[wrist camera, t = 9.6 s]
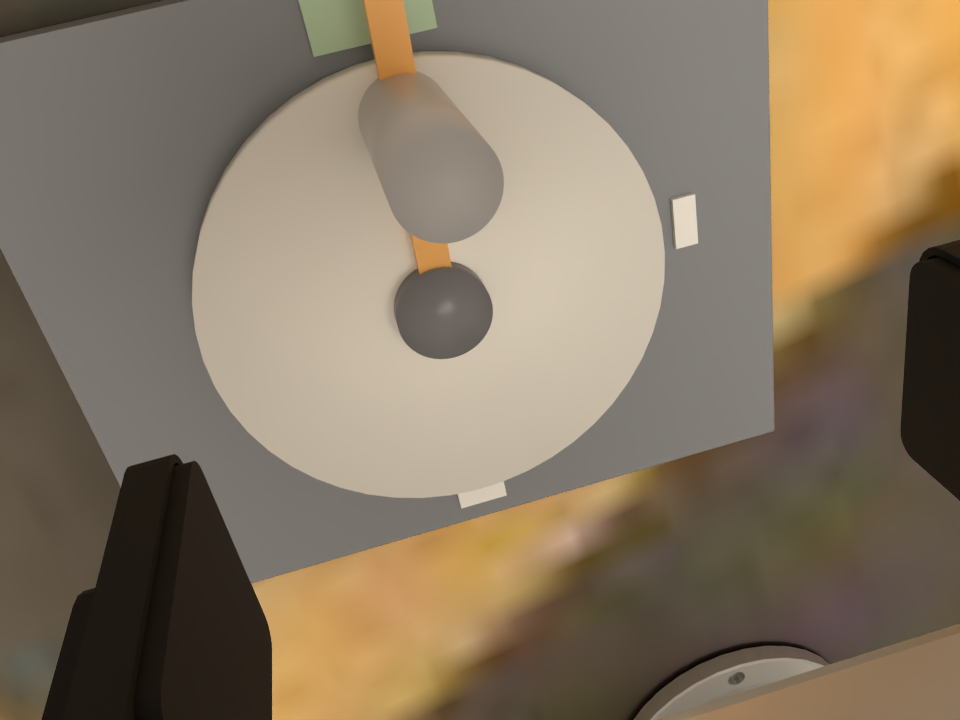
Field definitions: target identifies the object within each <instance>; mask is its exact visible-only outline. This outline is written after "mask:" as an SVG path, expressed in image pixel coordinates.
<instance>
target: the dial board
mask: <svg viewBox="0 0 960 720" xmlns="http://www.w3.org/2000/svg"><path fill="white" fill-rule="evenodd" d="M403 2H404V7H405V13H406V18H407V24H408V29H409V35H410V40H411V46H412V51H413V52H418V51H458V52H465V53H472V54H478V55H485V56H490V57H494V58H497V59H500V60H504V61H507V62H510V63H514V64H517V65H520V66H522V67H524V68H527V69H529V70H531V71H533V72H535V73H537V74H540V75H542V76H544V77H546V78H548V79H550V80H551V81H553V82H554V83H556V84H557V85H559V86H561V87H562V88H564V89H565V90H567V91H568V92H570V93H571V94H573V95H574V96H576V97H577V98H579V99H580V100H581V101H583V102H584V103H586V104H587V105H588V106H589V107H590V108H591V109H592V110H594V111H595V112H596V113H597V114H598V115H599V116H600V117H602V118H603V119H604V120H605V121H606V122H607V123H608V124H609V125H610V126H611V127H612V128H613V129H614V131H615V132H616V133H617V134H618V135H619V137H620V138H621V139H622V140H623V141H624V143H625V144H626V145H627V146H628V148H629V149H630V151H631V152H632V154H633V156H634V157H635V159H636V161H637V162H638V164H639V166H640V167H641V169H642V170H643V172H644V174H645V177H646V179H647V182H648V184H649V186H650V189H651V191H652V193H653V196H654V198H655V202H656V206H657V209H658V213H659V217H660V221H661V224H662V232H663V241H664V249H665V274H664V286H663V293H662V299H661V306H660V310H659V313H658V317H657V320H656V324H655V327H654V331H653V334H652V336H651V339H650V341H649V343H648V346H647V348H646V350H645V353H644V355H643V358H642V360H641V361H640V363H639V365H638V367H637V368H636V370H635V372H634V374H633V375H632V377H631V379H630V381H629V382H628V384H627V385H626V386H625V388H624V389H623V390H622V392H621V393H620V394H619V396H618V397H617V399H616V400H615V401H614V403H613V404H612V405H611V406H610V407H609V408H608V409H607V411H606V412H605V413H604V414H603V415H602V416H601V417H600V418H599V419H598V420H597V421H596V422H595V424H593V425H592V426H591V427H590V428H589V429H588V430H587V431H586V432H584V433H583V434H582V435H581V436H580V437H579V438H578V439H576V440H575V441H574V442H573V443H571V444H570V445H569V446H567V447H566V448H564V449H563V450H561V451H560V452H559V453H557V454H556V455H554V456H553V457H552V458H550V459H548V460H546V461H544V462H543V463H541V464H539V465H537V466H536V467H534V468H532V469H530V470H528V471H526V472H524V473H522V474H519V475H517V476H515V477H512V478H510V479H508V480H505V481H503V482H500V483H497V484H494V485H491V486H487V487H484V488H481V489H478V490H474V491H469V492H464V493H459V494H454V495H449V496H438V497H428V498H393V497H385V496H377V495H368V494H364V493H360V492H356V491H351V490H347V489H343V488H340V487H337V486H334V485H332V484H329V483H326V482H323V481H321V480H318V479H315V478H313V477H311V476H309V475H307V474H306V473H304V472H302V471H300V470H298V469H296V468H294V467H292V466H290V465H289V464H287V463H286V462H284V461H283V460H281V459H280V458H279V457H277V456H276V455H274V454H273V453H271V452H270V451H268V450H267V449H266V448H265V447H264V446H263V445H262V444H261V443H259V442H258V441H257V440H256V439H255V438H254V437H253V436H252V435H250V434H249V433H248V432H247V431H246V429H245V428H244V427H243V426H242V425H241V423H240V422H239V421H238V420H237V419H236V418H235V416H234V415H233V414H232V413H231V412H230V410H229V409H228V407H227V406H226V404H225V402H224V401H223V399H222V398H221V396H220V394H219V393H218V391H217V390H216V388H215V386H214V384H213V382H212V380H211V377H210V375H209V373H208V371H207V368H206V366H205V364H204V362H203V358H202V355H201V351H200V347H199V344H198V340H197V337H196V333H195V325H194V317H193V309H192V280H193V268H194V262H195V256H196V251H197V245H198V239H199V234H200V228H201V225H202V222H203V219H204V216H205V213H206V210H207V207H208V204H209V201H210V198H211V196H212V194H213V192H214V190H215V188H216V186H217V184H218V182H219V180H220V178H221V176H222V174H223V172H224V170H225V168H226V167H227V166H228V164H229V163H230V161H231V160H232V158H233V157H234V156H235V154H236V153H237V151H238V150H239V149H240V147H241V146H242V144H243V143H244V141H245V140H246V139H247V138H248V137H249V136H250V135H251V134H252V133H253V132H254V131H255V130H256V129H257V128H258V127H259V125H260V124H261V123H262V122H263V121H264V120H265V119H266V118H267V117H268V116H269V115H271V114H272V113H273V112H274V111H276V110H277V109H278V108H279V107H281V106H282V105H283V104H284V103H286V102H287V101H288V100H289V99H291V98H292V97H293V96H294V95H296V94H298V93H299V92H301V91H303V90H304V89H306V88H308V87H309V86H311V85H313V84H314V83H316V82H318V81H319V80H321V79H323V78H325V77H327V76H329V75H332V74H334V73H336V72H339V71H341V70H343V69H346V68H348V67H350V66H353V65H355V64H359V63H362V62H366V61H370V60H373V59H374V54H373V49H372V44H371V39H370V34H369V29H368V25H367V20H366V15H365V10H364V5H363V0H163V1H159V2H154V3H150V4H145V5H141V6H137V7H132V8H128V9H123V10H119V11H115V12H110V13H106V14H101V15H97V16H92V17H88V18H84V19H79V20H75V21H70V22H66V23H62V24H57V25H53V26H48V27H44V28H39V29H35V30H31V31H26V32H22V33H17V34H13V35H9V36H4V37H0V249H1V251H2V253H3V255H4V257H5V259H6V261H7V263H8V264H9V266H10V268H11V270H12V272H13V274H14V276H15V278H16V280H17V282H18V284H19V286H20V288H21V290H22V292H23V294H24V296H25V298H26V300H27V302H28V304H29V306H30V308H31V310H32V312H33V314H34V316H35V318H36V320H37V322H38V324H39V326H40V328H41V330H42V332H43V334H44V336H45V338H46V340H47V342H48V344H49V346H50V348H51V350H52V352H53V354H54V356H55V358H56V360H57V362H58V364H59V366H60V368H61V370H62V372H63V374H64V376H65V378H66V380H67V382H68V384H69V386H70V388H71V390H72V392H73V393H74V395H75V397H76V399H77V401H78V403H79V405H80V407H81V409H82V411H83V413H84V415H85V417H86V419H87V421H88V423H89V425H90V427H91V429H92V431H93V433H94V435H95V437H96V439H97V441H98V443H99V445H100V447H101V449H102V451H103V453H104V455H105V457H106V459H107V461H108V463H109V465H110V467H111V469H112V471H113V473H114V475H115V477H116V479H117V481H118V483H119V485H120V487H121V485H122V481H123V477H124V473H125V471H126V469H127V467H129V466H132V465H135V464H139V463H143V462H146V461H150V460H154V459H157V458H161V457H165V456H168V455H172V454H176V455H177V456H178V457H179V458H180V459H181V460H182V462H183V464H184V463H188V462H192V461H196V462H197V463H198V464H199V465H200V467H201V469H202V471H203V473H204V476H205V478H206V480H207V483H208V485H209V487H210V490H211V492H212V494H213V496H214V499H215V501H216V503H217V506H218V508H219V510H220V513H221V515H222V517H223V520H224V522H225V524H226V527H227V529H228V531H229V534H230V536H231V538H232V541H233V543H234V545H235V548H236V550H237V552H238V555H239V557H240V559H241V562H242V564H243V566H244V569H245V571H246V573H247V576H248V578H249V580H250V582H251V583H254V582H257V581H261V580H264V579H268V578H271V577H274V576H278V575H281V574H285V573H288V572H292V571H295V570H298V569H302V568H305V567H309V566H312V565H316V564H319V563H322V562H326V561H329V560H333V559H336V558H340V557H343V556H346V555H350V554H353V553H357V552H360V551H364V550H367V549H370V548H374V547H377V546H381V545H384V544H388V543H391V542H394V541H398V540H401V539H405V538H408V537H412V536H415V535H418V534H422V533H425V532H429V531H432V530H436V529H439V528H442V527H446V526H449V525H453V524H456V523H460V522H463V521H466V520H470V519H473V518H477V517H480V516H484V515H487V514H490V513H494V512H497V511H501V510H504V509H508V508H511V507H514V506H518V505H521V504H525V503H528V502H532V501H535V500H538V499H542V498H545V497H549V496H552V495H556V494H559V493H562V492H566V491H569V490H573V489H576V488H580V487H583V486H586V485H590V484H593V483H597V482H600V481H604V480H607V479H610V478H614V477H617V476H621V475H624V474H628V473H631V472H634V471H638V470H641V469H645V468H648V467H652V466H655V465H658V464H662V463H665V462H669V461H672V460H676V459H679V458H682V457H686V456H689V455H693V454H696V453H700V452H703V451H706V450H710V449H713V448H717V447H720V446H724V445H727V444H730V443H734V442H737V441H741V440H744V439H748V438H751V437H754V436H758V435H761V434H765V433H768V432H772V431H774V375H773V310H772V245H771V180H770V115H769V50H768V0H403Z"/></svg>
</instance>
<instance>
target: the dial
mask: <svg viewBox="0 0 960 720" xmlns="http://www.w3.org/2000/svg"><path fill="white" fill-rule="evenodd" d="M363 5H364V10H365V15H366V20H367V25H368V29H369V34H370V39H371V44H372V49H373V54H374V59H373V60H370V61H366V62H362V63H359V64H355V65H353V66H350V67H348V68H346V69H343V70H341V71H339V72H336V73H334V74H332V75H329V76H327V77H325V78H323V79H321V80H319V81H318V82H316V83H314V84H313V85H311V86H309V87H308V88H306V89H304V90H303V91H301V92H299V93H298V94H296V95H294V96H293V97H292V98H291V99H289V100H288V101H287V102H286V103H284V104H283V105H282V106H281V107H279V108H278V109H277V110H276V111H274V112H273V113H272V114H271V115H269V116H268V117H267V118H266V119H265V120H264V121H263V122H262V123H261V124H260V125H259V127H258V128H257V129H256V130H255V131H254V132H253V133H252V134H251V135H250V136H249V137H248V138H247V139H246V140H245V141H244V143H243V144H242V146H241V147H240V149H239V150H238V151H237V153H236V154H235V156H234V157H233V158H232V160H231V161H230V163H229V164H228V166H227V167H226V168H225V170H224V172H223V174H222V176H221V178H220V180H219V182H218V184H217V186H216V188H215V190H214V192H213V194H212V196H211V198H210V201H209V204H208V207H207V210H206V213H205V216H204V219H203V222H202V225H201V228H200V234H199V239H198V245H197V251H196V256H195V262H194V268H193V280H192V309H193V317H194V325H195V333H196V337H197V340H198V344H199V347H200V351H201V355H202V358H203V362H204V364H205V366H206V368H207V371H208V373H209V375H210V377H211V380H212V382H213V384H214V386H215V388H216V390H217V391H218V393H219V394H220V396H221V398H222V399H223V401H224V402H225V404H226V406H227V407H228V409H229V410H230V412H231V413H232V414H233V415H234V416H235V418H236V419H237V420H238V421H239V422H240V423H241V425H242V426H243V427H244V428H245V429H246V431H247V432H248V433H249V434H250V435H252V436H253V437H254V438H255V439H256V440H257V441H258V442H259V443H261V444H262V445H263V446H264V447H265V448H266V449H267V450H268V451H270V452H271V453H273V454H274V455H276V456H277V457H279V458H280V459H281V460H283V461H284V462H286V463H287V464H289V465H290V466H292V467H294V468H296V469H298V470H300V471H302V472H304V473H306V474H307V475H309V476H311V477H313V478H315V479H318V480H321V481H323V482H326V483H329V484H332V485H334V486H337V487H340V488H343V489H347V490H351V491H356V492H360V493H364V494H368V495H377V496H385V497H393V498H428V497H438V496H449V495H454V494H459V493H464V492H469V491H474V490H478V489H481V488H484V487H487V486H491V485H494V484H497V483H500V482H503V481H505V480H508V479H510V478H512V477H515V476H517V475H519V474H522V473H524V472H526V471H528V470H530V469H532V468H534V467H536V466H537V465H539V464H541V463H543V462H544V461H546V460H548V459H550V458H552V457H553V456H554V455H556V454H557V453H559V452H560V451H561V450H563V449H564V448H566V447H567V446H569V445H570V444H571V443H573V442H574V441H575V440H576V439H578V438H579V437H580V436H581V435H582V434H583V433H584V432H586V431H587V430H588V429H589V428H590V427H591V426H592V425H593V424H595V422H596V421H597V420H598V419H599V418H600V417H601V416H602V415H603V414H604V413H605V412H606V411H607V409H608V408H609V407H610V406H611V405H612V404H613V403H614V401H615V400H616V399H617V397H618V396H619V394H620V393H621V392H622V390H623V389H624V388H625V386H626V385H627V384H628V382H629V381H630V379H631V377H632V375H633V374H634V372H635V370H636V368H637V367H638V365H639V363H640V361H641V360H642V358H643V355H644V353H645V350H646V348H647V346H648V343H649V341H650V339H651V336H652V334H653V331H654V327H655V324H656V320H657V317H658V313H659V310H660V306H661V299H662V293H663V286H664V274H665V249H664V241H663V232H662V224H661V221H660V217H659V213H658V209H657V206H656V202H655V198H654V196H653V193H652V191H651V189H650V186H649V184H648V182H647V179H646V177H645V174H644V172H643V170H642V169H641V167H640V166H639V164H638V162H637V161H636V159H635V157H634V156H633V154H632V152H631V151H630V149H629V148H628V146H627V145H626V144H625V143H624V141H623V140H622V139H621V138H620V137H619V135H618V134H617V133H616V132H615V131H614V129H613V128H612V127H611V126H610V125H609V124H608V123H607V122H606V121H605V120H604V119H603V118H602V117H600V116H599V115H598V114H597V113H596V112H595V111H594V110H592V109H591V108H590V107H589V106H588V105H587V104H586V103H584V102H583V101H581V100H580V99H579V98H577V97H576V96H574V95H573V94H571V93H570V92H568V91H567V90H565V89H564V88H562V87H561V86H559V85H557V84H556V83H554V82H553V81H551V80H550V79H548V78H546V77H544V76H542V75H540V74H537V73H535V72H533V71H531V70H529V69H527V68H524V67H522V66H520V65H517V64H514V63H510V62H507V61H504V60H500V59H497V58H494V57H490V56H485V55H478V54H472V53H465V52H458V51H418V52H413V51H412V46H411V40H410V35H409V29H408V24H407V18H406V13H405V7H404V2H403V0H363Z"/></svg>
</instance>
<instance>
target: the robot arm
mask: <svg viewBox="0 0 960 720" xmlns="http://www.w3.org/2000/svg"><path fill="white" fill-rule="evenodd" d="M901 438H902V442H903V445H904V447H905V449H906V451H907V453H908V454H909V456H910V457H911V458H912V459H913V460H914V461H915V462H917V463H918V464H919V465H920V466H921V467H922V468H923V469H924V470H926V471H927V472H928V473H929V474H930V475H931V476H932V477H934V478H935V479H936V480H937V481H938V482H939V483H940V484H942V485H943V486H944V487H945V488H946V489H947V490H948V491H949V492H951V493H952V494H953V495H954V496H955V497H956V498H957V499H959V500H960V240H957V241H953V242H950V243H946V244H942V245H939V246H935V247H931V248H928V249H927V250H926V251H924V252H923V254H922V256H921V258H920V261H919V262H918V263H916V264H915V265H914V266H913V268H912V270H911V273H910V283H909V299H908V316H907V333H906V349H905V366H904V382H903V399H902V416H901ZM42 720H272V643H271V636H270V631H269V627H268V623H267V620H266V618H265V615H264V613H263V610H262V608H261V606H260V603H259V601H258V599H257V596H256V594H255V592H254V589H253V587H252V585H251V582H250V580H249V578H248V576H247V573H246V571H245V569H244V566H243V564H242V562H241V559H240V557H239V555H238V552H237V550H236V548H235V545H234V543H233V541H232V538H231V536H230V534H229V531H228V529H227V527H226V524H225V522H224V520H223V517H222V515H221V513H220V510H219V508H218V506H217V503H216V501H215V499H214V496H213V494H212V492H211V490H210V487H209V485H208V483H207V480H206V478H205V476H204V473H203V471H202V469H201V467H200V465H199V464H198V463H197V462H196V461H192V462H188V463H184V464H183V462H182V460H181V459H180V458H179V457H178V456H177V455H176V454H172V455H168V456H165V457H161V458H157V459H154V460H150V461H146V462H143V463H139V464H135V465H132V466H129V467H127V469H126V471H125V473H124V477H123V481H122V485H121V489H120V493H119V497H118V501H117V505H116V509H115V513H114V517H113V521H112V525H111V529H110V533H109V537H108V541H107V544H106V548H105V552H104V556H103V560H102V564H101V568H100V572H99V576H98V580H97V584H96V588H93V589H89V590H86V591H83V592H82V593H81V594H80V595H78V596H77V599H76V601H75V603H74V605H73V608H72V612H71V616H70V619H69V623H68V626H67V630H66V634H65V637H64V641H63V644H62V648H61V652H60V655H59V659H58V662H57V666H56V670H55V673H54V677H53V680H52V684H51V688H50V691H49V695H48V699H47V702H46V706H45V709H44V713H43V717H42ZM634 720H960V624H957V625H954V626H951V627H948V628H945V629H941V630H938V631H935V632H932V633H929V634H925V635H922V636H919V637H916V638H913V639H910V640H906V641H903V642H900V643H897V644H894V645H890V646H887V647H884V648H881V649H878V650H875V651H871V652H868V653H865V654H862V655H859V656H855V657H852V658H849V659H846V660H843V661H840V662H836V663H833V664H829V663H828V662H826V661H825V660H824V659H823V658H822V657H820V656H818V655H816V654H814V653H812V652H809V651H807V650H804V649H799V648H794V647H789V646H760V647H753V648H746V649H741V650H737V651H734V652H730V653H727V654H723V655H720V656H718V657H715V658H713V659H711V660H708V661H706V662H703V663H701V664H699V665H697V666H695V667H694V668H692V669H690V670H688V671H687V672H685V673H683V674H681V675H680V676H678V677H677V678H675V679H674V680H673V681H671V682H670V683H669V684H667V685H666V686H665V687H663V688H662V689H661V690H659V691H658V692H657V693H656V694H655V695H654V696H653V697H652V698H651V699H650V700H649V701H648V702H647V703H646V704H645V705H644V706H643V708H642V709H641V710H640V712H639V713H638V714H637V716H636V717H635V718H634Z"/></svg>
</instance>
